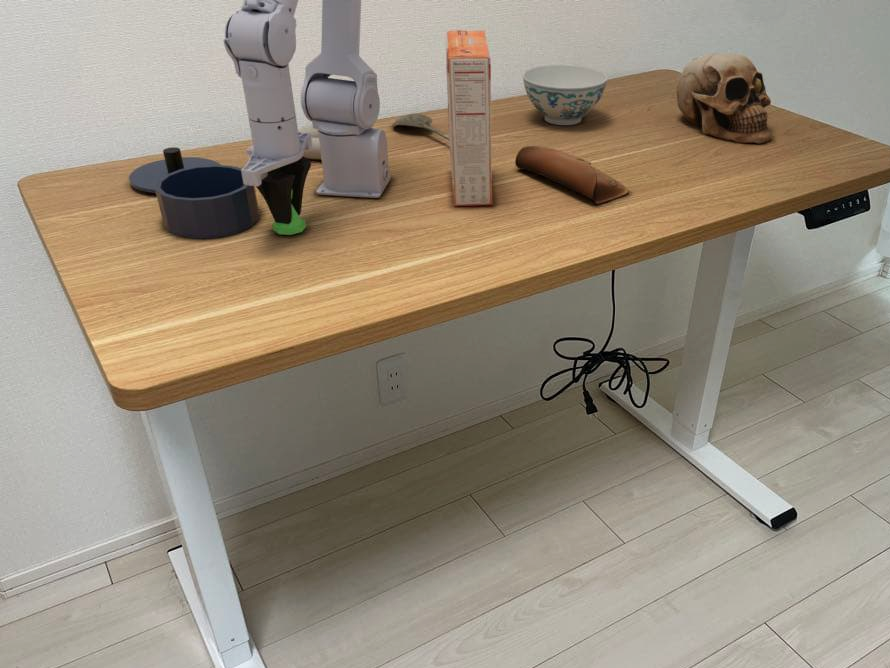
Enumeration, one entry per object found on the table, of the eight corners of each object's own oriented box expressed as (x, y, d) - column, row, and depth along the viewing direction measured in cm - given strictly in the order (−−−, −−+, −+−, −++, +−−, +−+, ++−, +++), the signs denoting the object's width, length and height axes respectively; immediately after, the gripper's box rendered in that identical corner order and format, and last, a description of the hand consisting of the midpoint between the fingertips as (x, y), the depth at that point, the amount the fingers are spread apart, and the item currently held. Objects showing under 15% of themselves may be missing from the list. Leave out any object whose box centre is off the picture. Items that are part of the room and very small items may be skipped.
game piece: (272, 222, 115) (265, 180, 111) (304, 219, 116) (298, 177, 112) (274, 236, 112) (266, 193, 108) (307, 233, 113) (300, 190, 109)
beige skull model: (771, 145, 145) (777, 62, 138) (669, 145, 149) (670, 65, 142) (772, 120, 157) (779, 44, 150) (679, 121, 162) (680, 47, 155)
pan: (258, 198, 122) (252, 161, 119) (259, 234, 113) (252, 195, 110) (168, 205, 120) (159, 168, 116) (161, 242, 110) (151, 203, 107)
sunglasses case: (633, 189, 127) (621, 156, 121) (603, 222, 125) (589, 190, 120) (553, 155, 138) (538, 124, 132) (525, 185, 136) (509, 155, 131)
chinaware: (606, 134, 148) (610, 88, 144) (521, 131, 148) (522, 86, 144) (601, 107, 160) (604, 65, 156) (522, 105, 160) (523, 63, 156)
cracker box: (449, 171, 132) (444, 29, 120) (488, 171, 133) (487, 29, 120) (451, 207, 121) (445, 54, 109) (493, 207, 122) (492, 54, 109)
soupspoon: (418, 123, 153) (387, 132, 150) (416, 104, 151) (384, 113, 148) (488, 155, 138) (454, 165, 135) (486, 134, 136) (452, 144, 133)
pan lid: (225, 161, 134) (220, 132, 131) (223, 193, 124) (217, 162, 121) (135, 167, 131) (127, 137, 128) (125, 200, 121) (117, 169, 118)
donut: (282, 160, 135) (341, 165, 133) (278, 139, 133) (338, 143, 131) (307, 140, 143) (363, 144, 141) (304, 119, 141) (361, 123, 139)
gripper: (272, 96, 111) (287, 194, 119) (211, 130, 100) (232, 236, 108) (321, 101, 110) (332, 200, 118) (264, 137, 99) (282, 243, 107)
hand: (288, 218), depth 113 cm, fingers closed on game piece, 2 cm apart
